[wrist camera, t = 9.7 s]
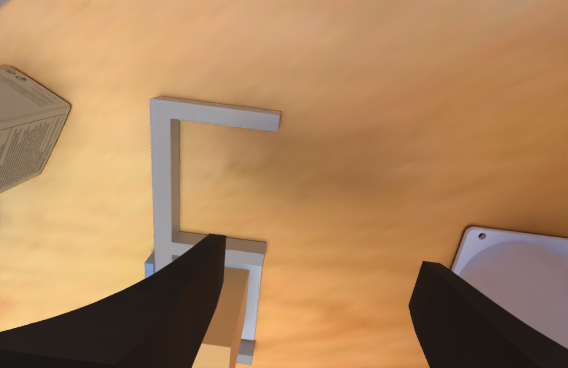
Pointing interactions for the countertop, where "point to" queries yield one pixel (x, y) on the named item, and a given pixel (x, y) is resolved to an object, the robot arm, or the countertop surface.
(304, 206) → the countertop surface
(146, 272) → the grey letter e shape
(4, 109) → the skincare box
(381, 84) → the countertop surface
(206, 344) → the tan cardboard-colored block
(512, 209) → the countertop surface
